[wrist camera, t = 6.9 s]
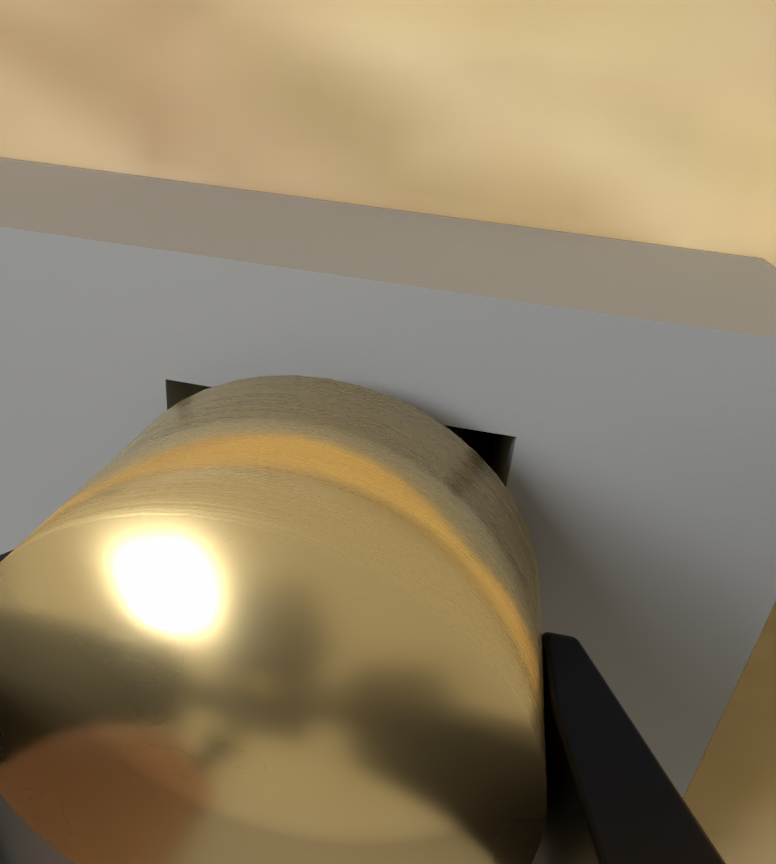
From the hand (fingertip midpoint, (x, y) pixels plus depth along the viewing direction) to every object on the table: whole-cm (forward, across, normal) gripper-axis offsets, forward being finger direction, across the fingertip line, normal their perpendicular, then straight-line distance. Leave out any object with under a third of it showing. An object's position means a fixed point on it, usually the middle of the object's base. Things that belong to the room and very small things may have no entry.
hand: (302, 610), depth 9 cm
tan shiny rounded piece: (+5, 0, 0) cm, 5 cm away
